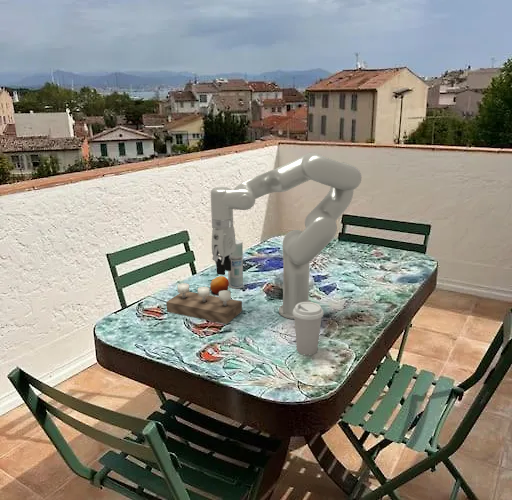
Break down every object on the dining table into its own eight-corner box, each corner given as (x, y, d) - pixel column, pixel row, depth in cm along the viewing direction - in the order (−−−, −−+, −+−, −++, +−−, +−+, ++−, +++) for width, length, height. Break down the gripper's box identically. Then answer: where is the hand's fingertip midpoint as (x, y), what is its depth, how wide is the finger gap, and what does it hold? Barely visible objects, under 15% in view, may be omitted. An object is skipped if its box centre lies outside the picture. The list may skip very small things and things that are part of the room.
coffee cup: (289, 343, 149) (290, 301, 145) (318, 342, 150) (320, 300, 146) (294, 358, 140) (295, 314, 136) (325, 357, 141) (326, 312, 137)
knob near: (233, 304, 170) (232, 291, 168) (227, 308, 166) (227, 295, 165) (222, 302, 172) (222, 289, 170) (216, 306, 168) (216, 293, 166)
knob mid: (212, 300, 174) (211, 287, 172) (206, 304, 170) (205, 291, 168) (202, 298, 175) (201, 285, 174) (196, 302, 172) (195, 290, 170)
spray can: (240, 282, 202) (240, 239, 196) (245, 287, 196) (244, 243, 190) (226, 284, 200) (225, 240, 195) (230, 289, 195) (229, 244, 189)
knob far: (191, 296, 177) (191, 284, 176) (185, 300, 173) (184, 288, 172) (182, 294, 179) (181, 282, 177) (176, 299, 175) (175, 286, 174)
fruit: (230, 293, 186) (220, 277, 185) (215, 301, 189) (204, 285, 188) (235, 286, 194) (225, 270, 193) (220, 294, 197) (210, 278, 195)
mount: (242, 311, 174) (241, 301, 173) (227, 324, 163) (226, 313, 162) (184, 300, 184) (183, 290, 183) (166, 311, 174) (166, 301, 173)
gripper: (220, 229, 151) (222, 281, 156) (242, 218, 165) (243, 266, 171) (200, 227, 154) (203, 278, 159) (224, 217, 168) (225, 264, 174)
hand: (224, 271), depth 165 cm, fingers open, 3 cm apart
